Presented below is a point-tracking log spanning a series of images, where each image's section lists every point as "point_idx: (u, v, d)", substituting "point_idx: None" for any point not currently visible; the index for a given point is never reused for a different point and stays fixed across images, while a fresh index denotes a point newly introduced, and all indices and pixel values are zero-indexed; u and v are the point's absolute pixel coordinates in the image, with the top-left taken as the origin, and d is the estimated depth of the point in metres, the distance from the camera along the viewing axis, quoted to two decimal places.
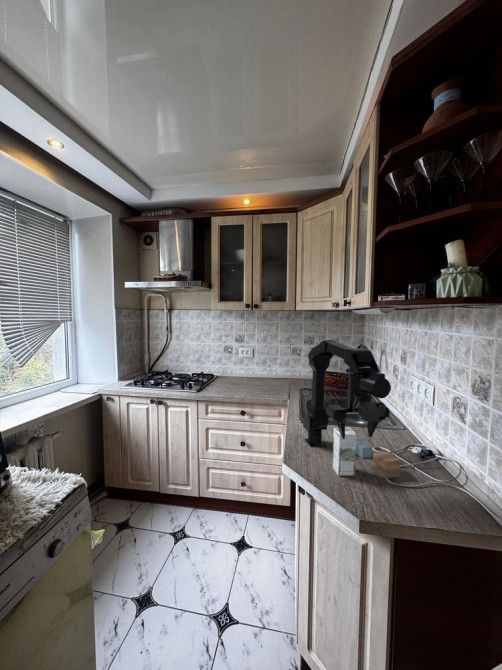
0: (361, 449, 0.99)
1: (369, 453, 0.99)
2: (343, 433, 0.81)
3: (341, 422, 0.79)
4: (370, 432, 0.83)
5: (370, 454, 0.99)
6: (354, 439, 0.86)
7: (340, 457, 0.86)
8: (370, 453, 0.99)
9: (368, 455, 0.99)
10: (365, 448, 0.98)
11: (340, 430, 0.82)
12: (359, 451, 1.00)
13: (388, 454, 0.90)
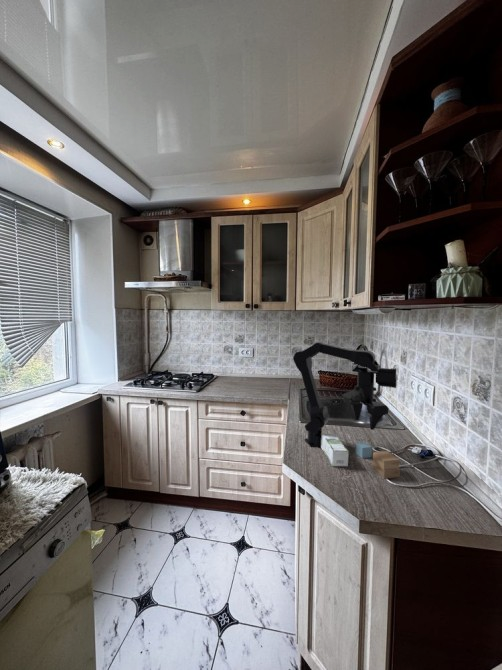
0: (361, 449, 0.99)
1: (369, 453, 0.99)
2: (354, 414, 1.04)
3: None
4: None
5: (370, 454, 0.99)
6: (334, 435, 1.05)
7: (329, 442, 0.98)
8: (370, 453, 0.99)
9: (368, 455, 0.99)
10: (365, 448, 0.98)
11: None
12: (359, 451, 1.00)
13: (388, 453, 0.90)
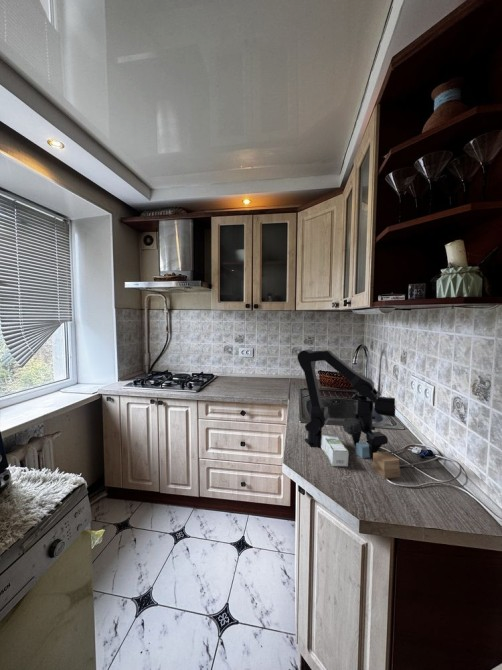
0: (361, 449, 0.99)
1: None
2: (353, 441, 1.05)
3: None
4: None
5: None
6: (334, 435, 1.05)
7: (329, 442, 0.98)
8: None
9: (368, 455, 0.99)
10: (365, 448, 0.98)
11: None
12: (359, 451, 1.00)
13: (388, 454, 0.90)
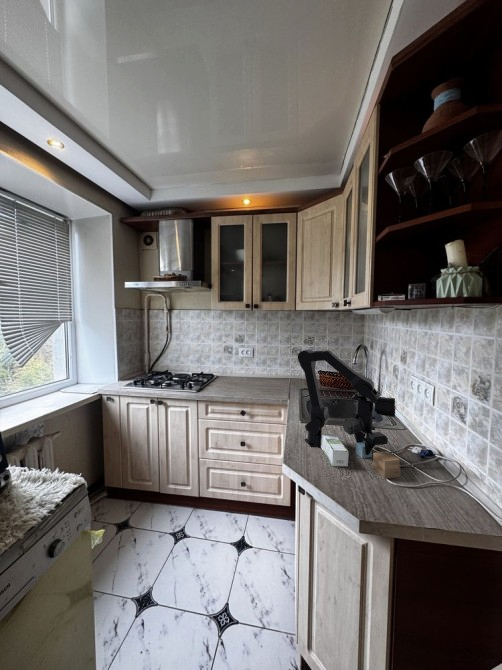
0: (361, 449, 0.99)
1: None
2: None
3: None
4: None
5: (370, 454, 0.99)
6: (334, 435, 1.05)
7: (329, 442, 0.98)
8: (370, 453, 0.99)
9: (368, 455, 0.99)
10: None
11: None
12: (359, 451, 1.00)
13: (388, 453, 0.90)
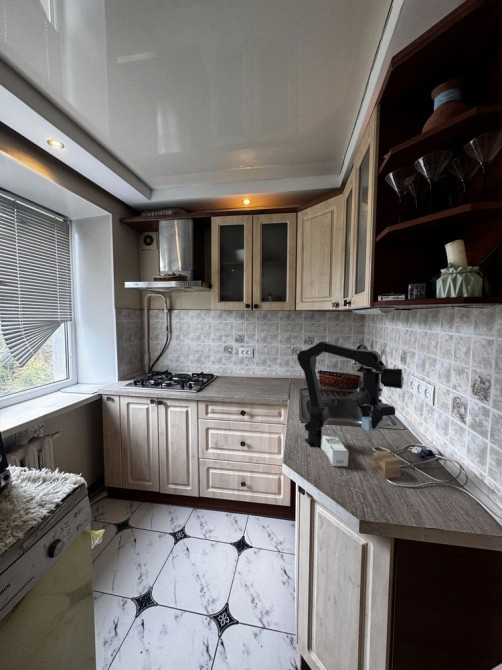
0: (367, 422, 0.96)
1: None
2: None
3: (357, 406, 1.01)
4: None
5: (377, 427, 0.96)
6: (334, 435, 1.05)
7: (329, 442, 0.98)
8: (377, 426, 0.96)
9: (375, 428, 0.96)
10: (371, 421, 0.95)
11: None
12: (365, 425, 0.97)
13: (388, 453, 0.90)
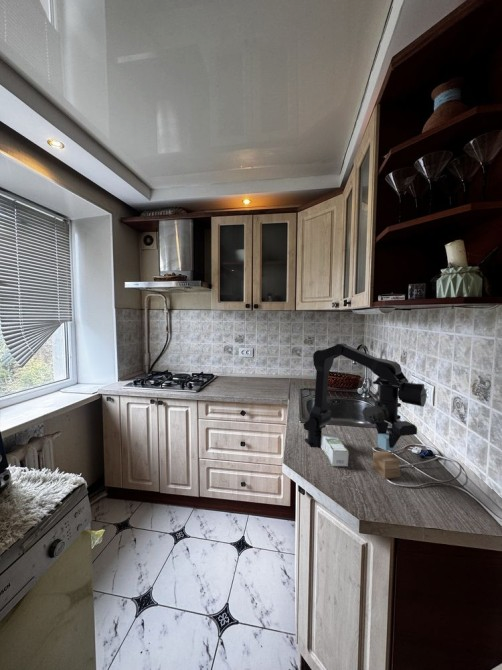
0: (385, 441, 0.87)
1: None
2: None
3: None
4: None
5: (395, 446, 0.87)
6: (334, 435, 1.05)
7: (329, 442, 0.98)
8: (395, 445, 0.87)
9: None
10: None
11: None
12: (382, 443, 0.88)
13: (388, 453, 0.90)
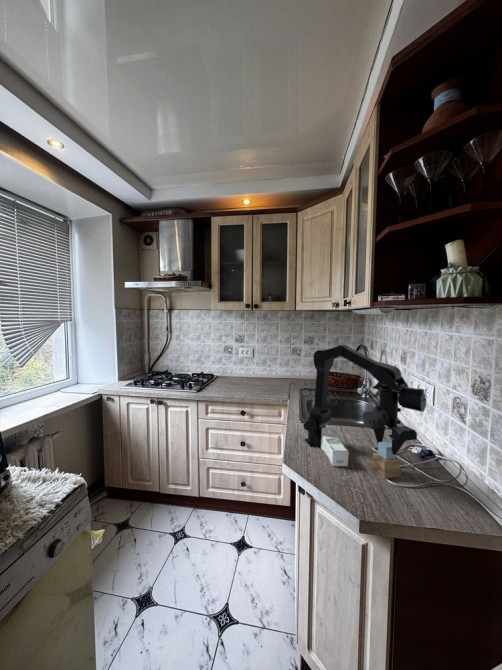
0: (385, 449, 0.87)
1: None
2: (376, 438, 0.92)
3: None
4: None
5: (395, 455, 0.87)
6: (334, 435, 1.05)
7: (329, 442, 0.98)
8: None
9: (393, 456, 0.87)
10: (389, 448, 0.87)
11: None
12: (382, 451, 0.88)
13: None
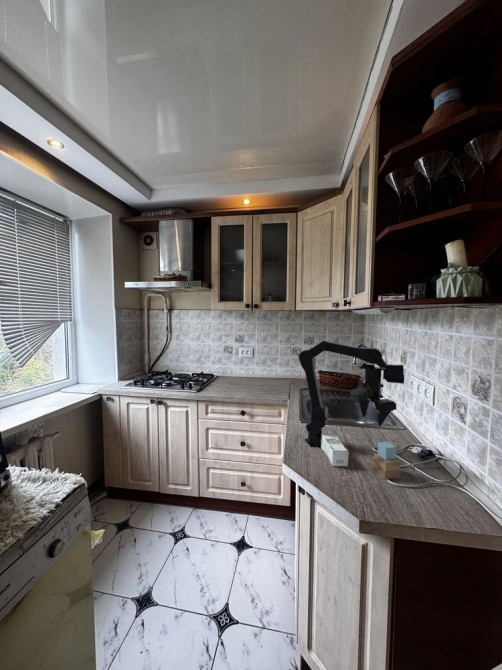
0: (385, 450, 0.87)
1: (393, 453, 0.87)
2: (361, 411, 1.05)
3: None
4: None
5: (395, 455, 0.87)
6: (334, 435, 1.05)
7: (329, 442, 0.98)
8: (395, 454, 0.87)
9: (393, 456, 0.87)
10: (389, 448, 0.87)
11: None
12: (382, 452, 0.88)
13: None
